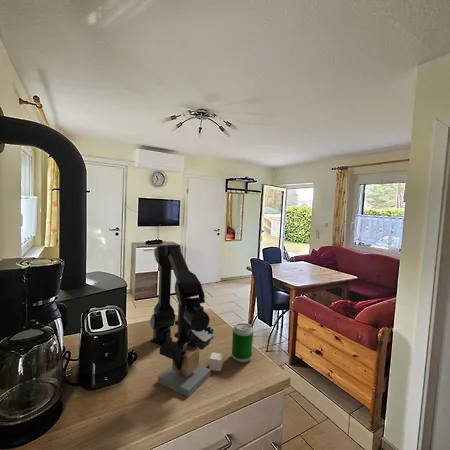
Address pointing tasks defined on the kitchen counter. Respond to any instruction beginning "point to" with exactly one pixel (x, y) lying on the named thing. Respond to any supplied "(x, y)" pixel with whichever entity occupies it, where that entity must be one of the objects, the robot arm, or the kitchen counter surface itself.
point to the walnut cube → (188, 360)
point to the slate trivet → (184, 380)
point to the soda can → (242, 342)
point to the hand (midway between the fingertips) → (185, 365)
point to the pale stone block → (216, 361)
